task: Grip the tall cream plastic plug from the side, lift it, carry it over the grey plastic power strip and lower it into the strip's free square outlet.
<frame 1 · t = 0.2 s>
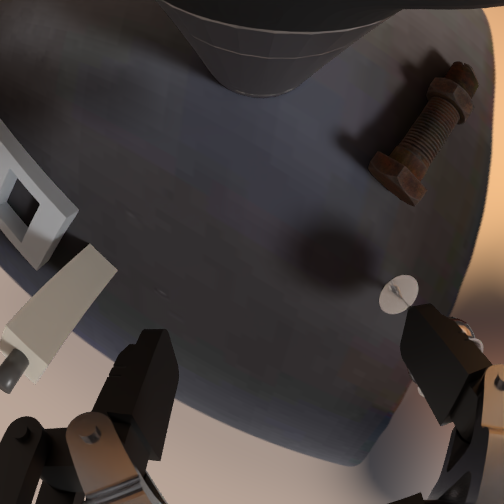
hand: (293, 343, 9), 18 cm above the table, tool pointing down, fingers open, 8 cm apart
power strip: (1, 165, 23), on the table
plug: (94, 268, 28), on the table
bolt: (422, 123, 22), on the table
wineglass: (398, 294, 29), on the table
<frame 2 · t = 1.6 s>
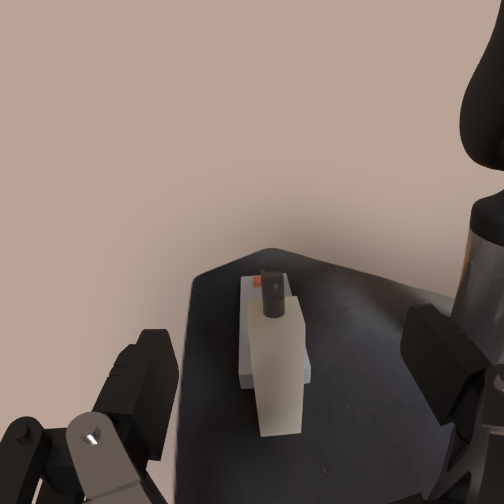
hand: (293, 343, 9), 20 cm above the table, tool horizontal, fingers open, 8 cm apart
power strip: (268, 326, 43), on the table
plug: (279, 419, 27), on the table
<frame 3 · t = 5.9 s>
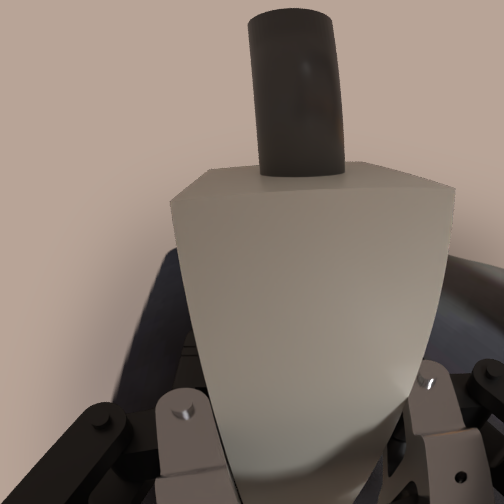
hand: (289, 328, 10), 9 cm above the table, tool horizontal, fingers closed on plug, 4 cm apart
plug: (294, 493, 10), on the table, touching gripper
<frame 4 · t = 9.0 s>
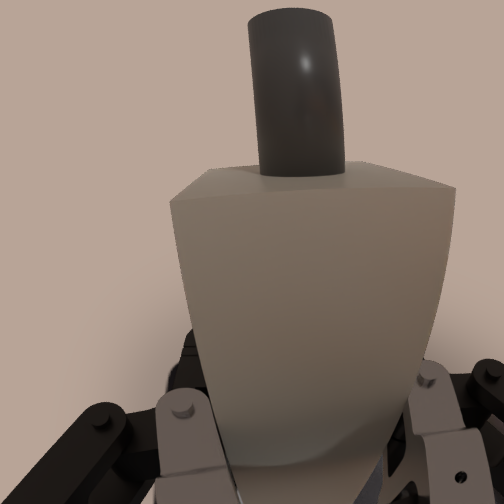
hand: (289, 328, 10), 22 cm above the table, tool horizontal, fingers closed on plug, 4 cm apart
plug: (294, 493, 10), point 13 cm above the table, touching gripper
when the fingers open (9 cm above the table, at t = 12.3 s): plug stays where it is, resting in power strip.
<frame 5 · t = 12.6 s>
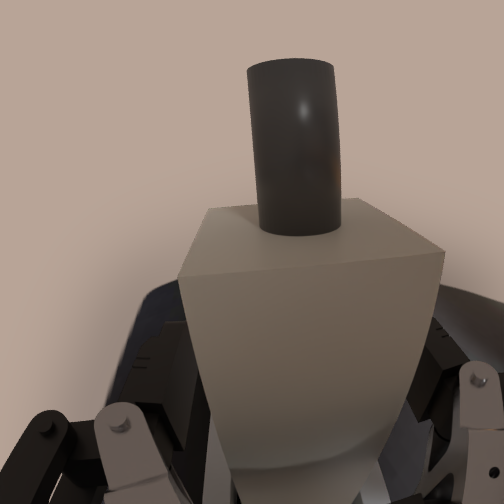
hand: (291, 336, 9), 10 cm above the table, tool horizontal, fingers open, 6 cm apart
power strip: (283, 416, 16), on the table
plug: (292, 499, 11), resting in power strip
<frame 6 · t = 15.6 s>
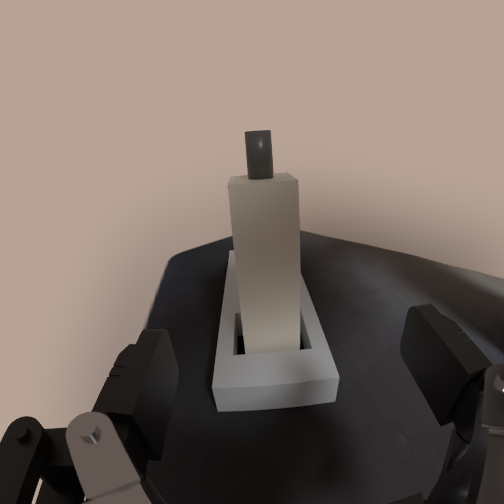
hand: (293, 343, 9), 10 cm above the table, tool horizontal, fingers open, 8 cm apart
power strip: (266, 314, 29), on the table
plug: (271, 353, 24), resting in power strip
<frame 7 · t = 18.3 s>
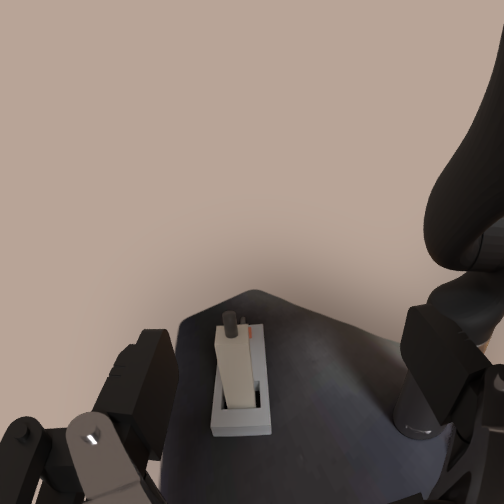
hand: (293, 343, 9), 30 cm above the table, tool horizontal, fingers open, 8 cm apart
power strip: (242, 378, 46), on the table
plug: (242, 405, 41), resting in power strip
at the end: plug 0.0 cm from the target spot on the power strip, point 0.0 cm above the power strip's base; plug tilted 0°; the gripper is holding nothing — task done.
